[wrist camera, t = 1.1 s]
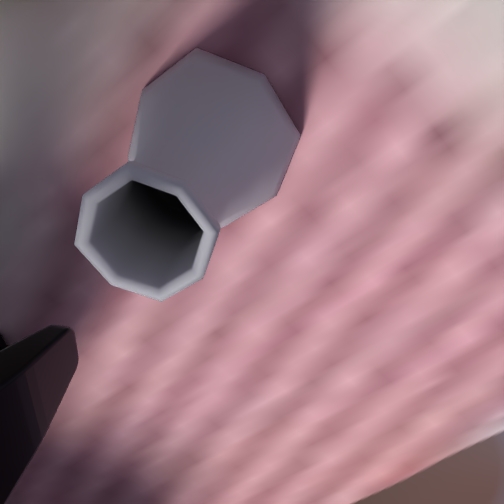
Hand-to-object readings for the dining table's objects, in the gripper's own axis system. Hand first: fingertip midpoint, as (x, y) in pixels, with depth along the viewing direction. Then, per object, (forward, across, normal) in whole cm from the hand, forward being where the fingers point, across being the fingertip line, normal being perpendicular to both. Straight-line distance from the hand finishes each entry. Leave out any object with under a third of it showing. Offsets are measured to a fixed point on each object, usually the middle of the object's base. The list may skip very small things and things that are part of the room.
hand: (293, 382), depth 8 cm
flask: (+12, +4, -1) cm, 13 cm away
